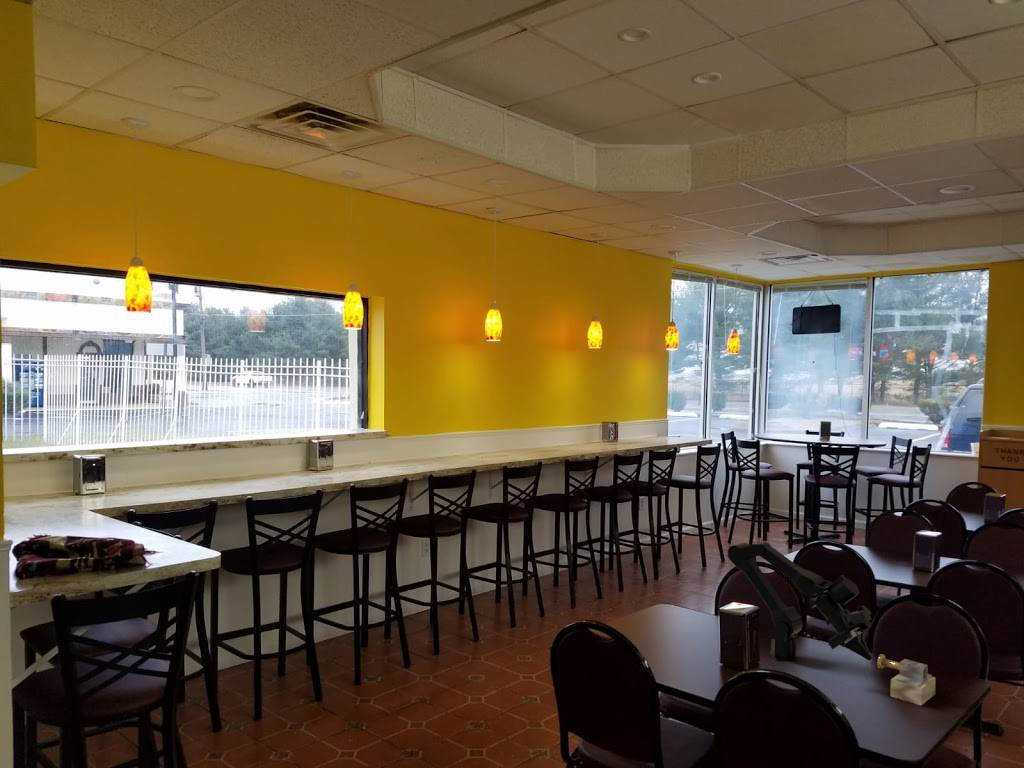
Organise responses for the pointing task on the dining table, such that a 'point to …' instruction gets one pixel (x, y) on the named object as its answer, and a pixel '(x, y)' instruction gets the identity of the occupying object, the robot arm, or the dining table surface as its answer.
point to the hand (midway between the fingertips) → (870, 659)
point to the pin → (887, 663)
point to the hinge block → (913, 683)
